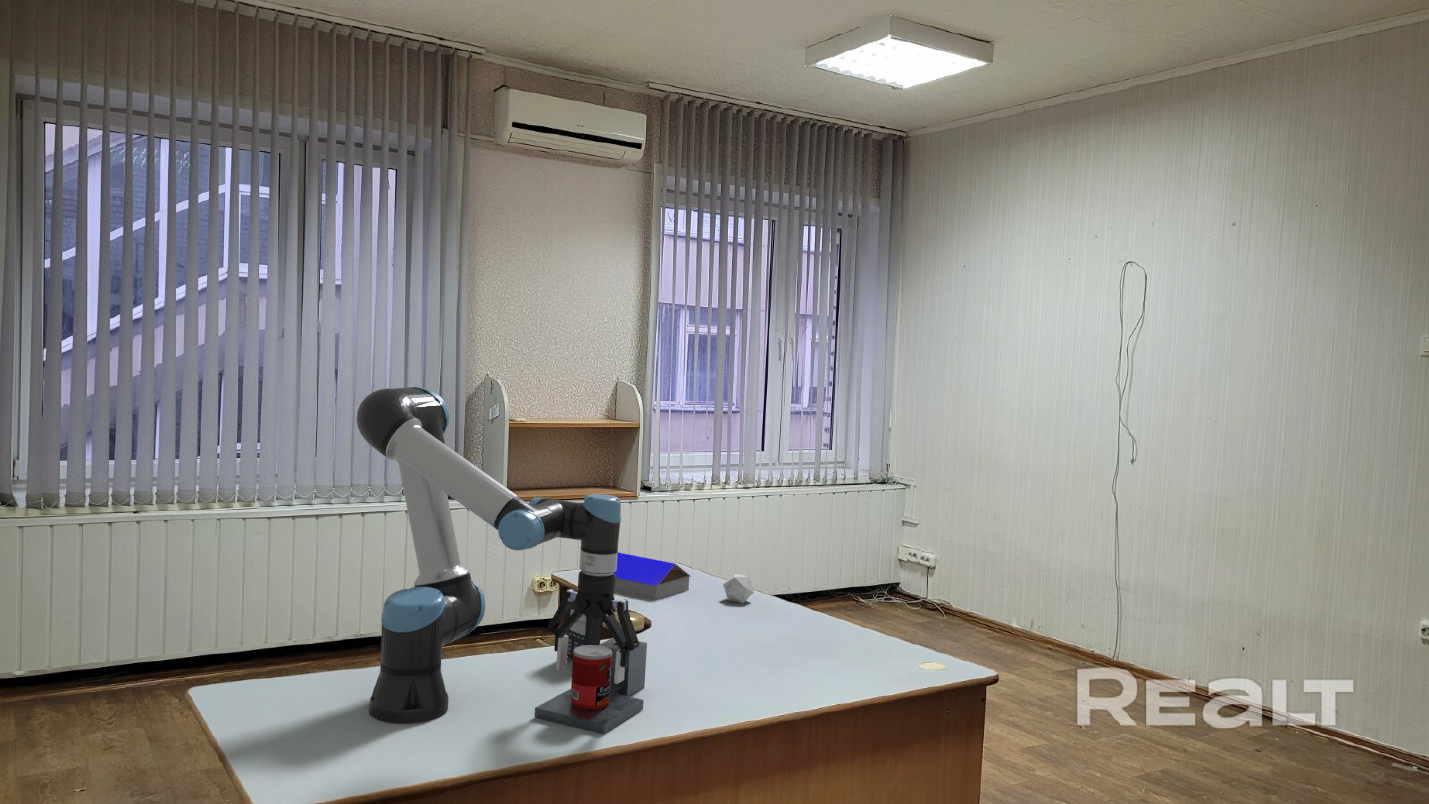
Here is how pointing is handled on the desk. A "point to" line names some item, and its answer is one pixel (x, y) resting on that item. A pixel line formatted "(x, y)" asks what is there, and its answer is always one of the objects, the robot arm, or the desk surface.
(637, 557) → the house
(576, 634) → the card reader
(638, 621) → the door knob
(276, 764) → the desk surface
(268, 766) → the desk surface
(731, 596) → the die
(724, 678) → the desk surface
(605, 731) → the grey stepped stand
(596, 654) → the canned food
